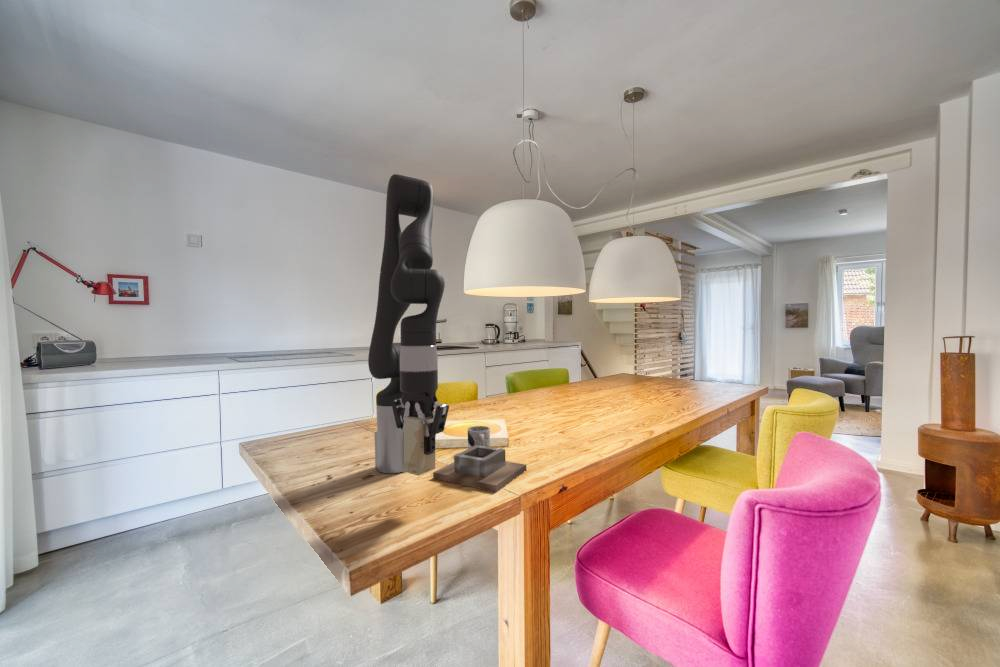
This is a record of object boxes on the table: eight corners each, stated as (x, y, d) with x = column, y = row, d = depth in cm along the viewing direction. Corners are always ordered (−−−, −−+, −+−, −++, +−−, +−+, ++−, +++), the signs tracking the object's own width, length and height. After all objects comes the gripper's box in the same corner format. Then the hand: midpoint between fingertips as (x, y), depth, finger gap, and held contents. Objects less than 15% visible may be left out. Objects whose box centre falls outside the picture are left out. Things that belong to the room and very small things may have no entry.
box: (418, 476, 76) (417, 420, 75) (402, 472, 78) (402, 417, 78) (436, 468, 80) (436, 414, 80) (421, 464, 82) (421, 412, 82)
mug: (466, 448, 119) (466, 427, 119) (487, 446, 121) (487, 425, 121) (471, 458, 109) (471, 435, 109) (494, 456, 111) (494, 433, 111)
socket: (433, 478, 95) (432, 456, 95) (468, 460, 108) (467, 440, 108) (496, 492, 86) (495, 467, 86) (526, 470, 99) (525, 448, 99)
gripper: (458, 367, 78) (459, 452, 78) (406, 364, 86) (407, 441, 86) (433, 371, 72) (434, 463, 72) (379, 367, 79) (380, 451, 79)
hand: (419, 451), depth 79 cm, fingers closed on box, 4 cm apart
